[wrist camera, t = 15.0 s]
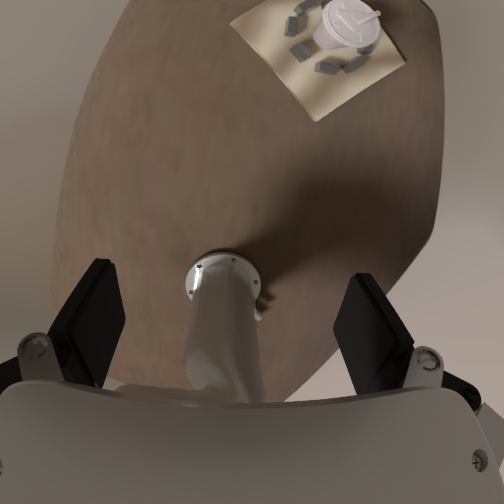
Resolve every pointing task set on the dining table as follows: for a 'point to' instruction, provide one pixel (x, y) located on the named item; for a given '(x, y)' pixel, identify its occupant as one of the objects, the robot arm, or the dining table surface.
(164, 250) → the dining table surface
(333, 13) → the smoothie
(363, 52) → the grey blocks
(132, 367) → the dining table surface
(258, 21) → the socket plate
